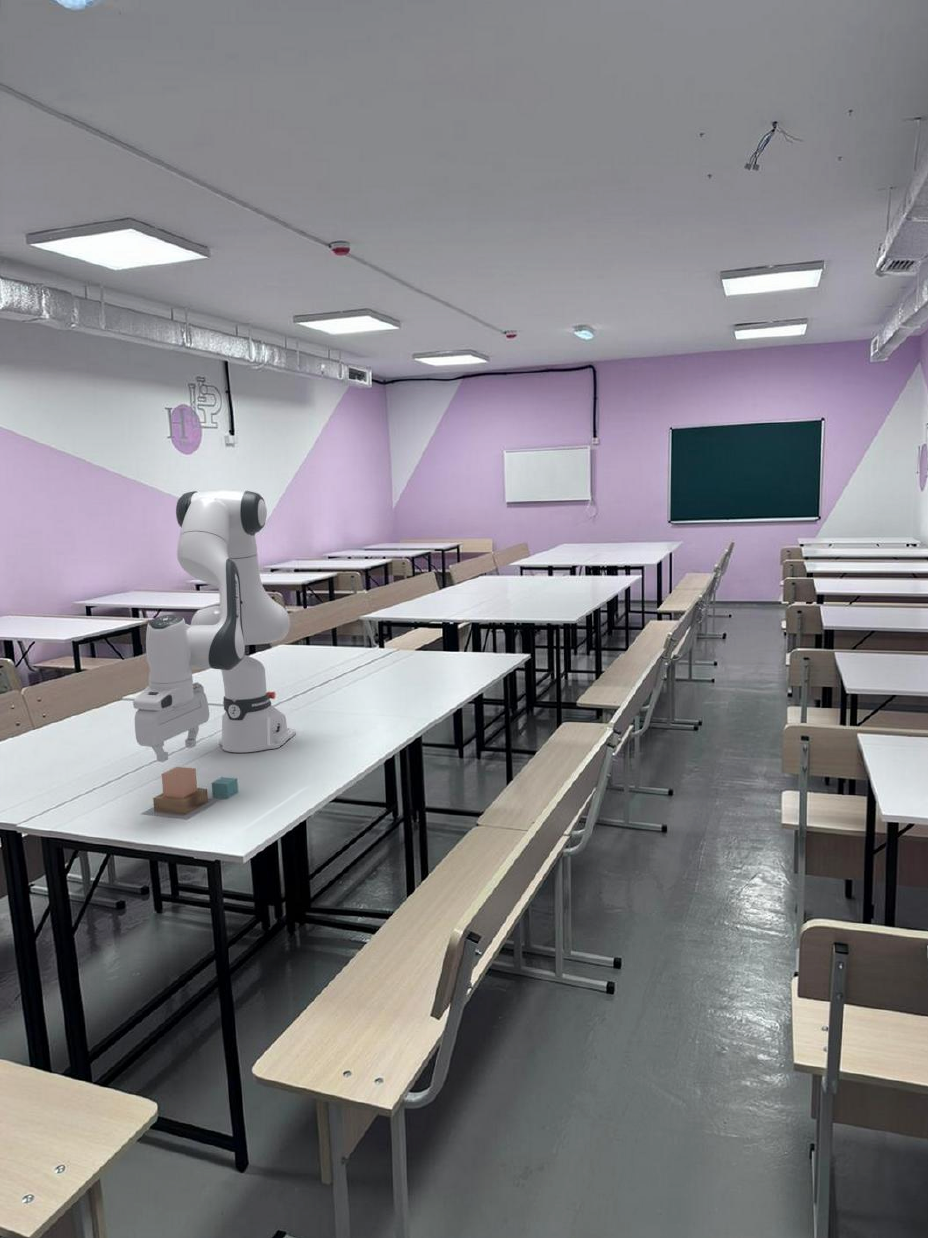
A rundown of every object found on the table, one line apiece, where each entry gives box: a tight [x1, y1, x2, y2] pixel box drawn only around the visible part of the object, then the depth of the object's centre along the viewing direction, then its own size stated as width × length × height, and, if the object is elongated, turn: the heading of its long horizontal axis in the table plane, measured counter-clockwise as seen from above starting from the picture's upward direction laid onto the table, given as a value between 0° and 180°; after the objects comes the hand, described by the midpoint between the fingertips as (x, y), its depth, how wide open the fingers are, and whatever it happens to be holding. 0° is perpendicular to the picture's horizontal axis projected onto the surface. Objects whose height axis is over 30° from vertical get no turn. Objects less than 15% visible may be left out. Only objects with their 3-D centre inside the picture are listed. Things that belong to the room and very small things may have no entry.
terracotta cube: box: [161, 766, 198, 798], centre depth 182 cm, size 5×5×5 cm
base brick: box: [152, 787, 209, 815], centre depth 183 cm, size 8×8×3 cm
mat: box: [140, 797, 222, 820], centre depth 183 cm, size 12×12×1 cm
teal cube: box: [211, 776, 239, 799], centre depth 190 cm, size 4×4×4 cm
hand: (177, 753), depth 182 cm, fingers open, 8 cm apart
